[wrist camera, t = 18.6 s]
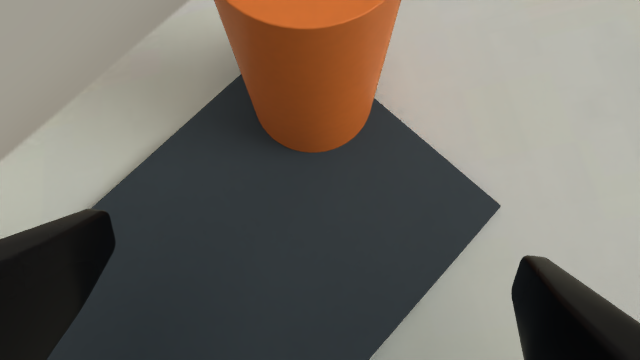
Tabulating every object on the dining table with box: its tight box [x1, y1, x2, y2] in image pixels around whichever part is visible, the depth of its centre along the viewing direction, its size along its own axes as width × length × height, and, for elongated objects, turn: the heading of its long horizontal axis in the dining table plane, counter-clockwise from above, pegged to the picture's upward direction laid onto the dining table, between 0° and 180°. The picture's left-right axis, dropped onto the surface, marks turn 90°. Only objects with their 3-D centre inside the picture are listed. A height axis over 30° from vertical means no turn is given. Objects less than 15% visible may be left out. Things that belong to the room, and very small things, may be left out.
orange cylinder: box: [214, 0, 401, 153], centre depth 16 cm, size 6×6×10 cm
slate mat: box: [47, 74, 500, 360], centre depth 19 cm, size 20×14×1 cm
